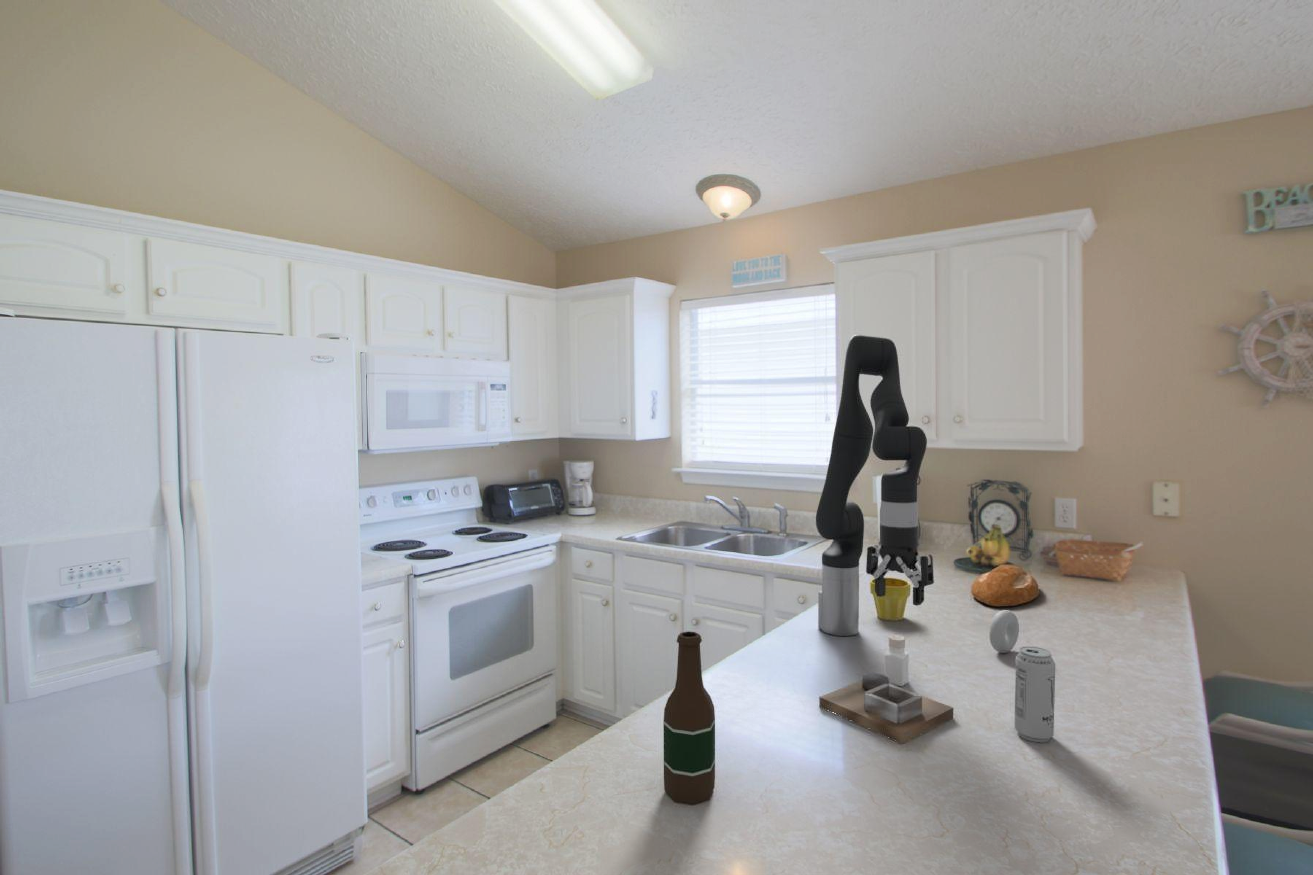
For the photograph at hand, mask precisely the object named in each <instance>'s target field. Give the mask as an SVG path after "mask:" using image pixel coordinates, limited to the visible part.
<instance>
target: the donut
mask: <svg viewBox="0 0 1313 875" xmlns="http://www.w3.org/2000/svg"><path fill="white" fill-rule="evenodd" d="M990 622H991V623H990V626H989V642H990V645H991V647H992V648H993V649H994V651H996V652H998V653H1000V654H1006V653H1009V652H1010V651H1012V650H1013V648H1014V647H1015V645H1016V643H1017V642H1018V638H1019V635H1020V634H1019V633H1020V624H1019V619H1018V617H1017V616H1016V614H1015V613H1014V612H1013V611H1011V610H1008V609H1007V610H1006V609H1003V610H1000V611H998V612H997V613H995V615H994V616H993V619H992V620H991V621H990Z"/></svg>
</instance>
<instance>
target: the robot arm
mask: <svg viewBox="0 0 1313 875" xmlns="http://www.w3.org/2000/svg"><path fill="white" fill-rule="evenodd" d="M897 350H898V349H897V348H896V344H895V342H894V341H893V340H892V339H890V338H887V337H886V338H885V337H880V336H871V335H862V334H854V335H853V336H852V337H851V338H850V339H849V341H848V343H847V348H846V351H845V360H844V368H843V375H842V376H843V377H842V386H841V388H842V389H841V393H840V394H841V395H840V401H839V407H838V413H837V418H836V422H835V426H834V432H833V437H832V442H831V448H830V456H829V461H828V466H827V471H826V476H825V481H824V485H823V488H822V490H821V491H822V492H821V495H820V499H819V501H818V506H817V510H816V514H815V526H816V530H817V532H818V533H819V535H820V536H821V537H822V538H823V539H825V540H829V541H830V540H831V541H832V542H831V543H830V545H829V547H828V548H827V549H825V550H824V551H823V552H822V553H821V590H819V592H818V599H817V600H818V603H817V604H818V609H817V610H818V611H817V612H818V613H817V615H818V616H817V618H818V621H817V624H818V627H817V628H818V629H821V631H823V632H824V633H826V634H829V635H832V636H838V637H839V636H840V637H850V636H856V635H858V633H859V629H860V628H859V623H860V622H859V620H860V619H859V618H860V613H859V612H860V610H859V609H860V608H859V607H860V560H861V557H862V555H863V550H864V549H863V548H864V537H865V535H864V534H865V520H864V514H863V511H862V509H861V507H860V506H859V505H858V504H857V503H855V502H854V501H850V500H848V496H849V492H850V490H851V487H852V485H853V483H854V482H855V480H856V478H857V476H859V475H860V473H861V471H862V469H863V468H864V466H865V465H866V463H867V460H868V458H869V457H870V452H871V449H872V452H873V453H874V455H875V456H876V457H877V458H878V459H879V460H882V461H905V463H904V465H903V466H902V467H901V468H900V469H898V470H893V471H889V472H885V473H883V474H882V475H881V479H880V487H881V488H880V508H879V544H880V547H879V545H876V544H875V545H871V546H868V547H867V549H866V550H867V551H866V568H865V570H866V571H865V572H866V574H867V575H870V576H872V577H873V579H874V578H875V592H876V593H877V596H879V597H882V596H885V594H886V578H884V577H886V575H887V573H888V572H897V573H898V574H899V573H901V574H904V575H905V576H906V577H907V579H909V580H910V582H911V584H912V585H913V587H912V604H913V606H920V605H922V604H923V603H924V601H925V588H926V587H927V586H930V585H933V584H934V583H935V580H934V563H933V562H934V561H933V560H934V558H933V556H932V554H925V555H922V554H919V552H918V547H919V508H918V507H919V506H918V479H919V474H920V471H921V466H922V463H923V460H924V458H925V454H926V449H927V445H928V439H927V435H926V433H925V431H924V430H923V429H922V428H921V427H918V426H914V425H911V426H910V425H908V424H909V421H910V417H909V412H908V410H907V409H908V408H907V406H906V403H905V400H904V397H903V393H902V388H901V387H902V386H901V377H900V367H899V358H898V351H897ZM860 375H868V376H874V377H875V376H876V377H881V378H882V379H881V381H880V382H878V384H877V385H876V386H875V388H874V389H873V391H872V393H871V396H870V400H869V402H870V409H871V413H872V416H873V420H874V426H873V423H872V420H871V418H870V415H869V413H868V411H867V409H866V407H865V404H864V402H863V399H862V396H861V392H860ZM879 557H880V558H881V559H882V561H881V562H880V564H879ZM917 563H918V565H919V566H920V568H919V567H918V565H917Z"/></svg>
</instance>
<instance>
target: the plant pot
mask: <svg viewBox="0 0 1313 875" xmlns="http://www.w3.org/2000/svg"><path fill="white" fill-rule="evenodd" d="M884 578H886V594H885V596H882V597H879V596H877V593H876V592H875V578H874V577H873V578H872V579H871V580H870V582H869V583H870V584H869V586H870V587H869V588H870V594H871V595H872V596H873V601H874V605H875V611H876V615H877V617H878V618H879V619H882V620H884V621H885V620H886V621H900V620H903V618H904V616H905V610H906V606H907V602H908V598H909V597H910V596H911V583H910V582H909V581H908V580H905V579H903V578H897V577H891V576H890V577H886V576H884Z"/></svg>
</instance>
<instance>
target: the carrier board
mask: <svg viewBox="0 0 1313 875" xmlns="http://www.w3.org/2000/svg"><path fill="white" fill-rule="evenodd" d="M861 677H862V679H861V680H859V681H857V682H854V683H852V684H849V685H846V686H844V687H842V688H839V689H836V690H833V691H830V692H827V693H826V694H823V695H821V696H820V695H819V706H818V708H820V707H822V708H821V709H823V708H824V709H823V710H825V709H826V710H825V711H827V710H829V711H831V712H834V713H836V714H837V715H836V714H835V715H836V716H838V715H840V716H842V717H841V718H843V717H844V718H843V719H845V718H847V719H848V720H847V719H846V720H847V721H849V720H852V721H853V722H852V721H851V722H852V723H854V722H855V723H854V724H856V723H858V724H860V725H859V726H860V727H863V726H865V727H866V728H865V727H864V728H865V729H867V728H870V729H871V730H870V731H872V730H873V731H872V732H874V731H876V732H878V733H880V734H879V735H881V734H882V735H881V736H883V735H884V736H883V737H885V736H886V737H885V738H887V737H889V738H888V739H890V740H892V739H894V740H896V741H897V742H896V741H895V742H896V743H898V742H900V743H899V744H900V745H904V744H906V743H908V742H910V741H911V739H912V740H913V738H914V739H916V738H917V737H919V735H920V734H922V735H924V734H925V732H926V731H927V732H929V731H931V730H933V729H935V728H937V727H939V726H941V725H943V724H945V723H947V722H949V721H951V720H953V719H954V707H952V706H950V705H947V704H945V703H942V702H939V701H937V700H934V699H931V698H928V697H926V696H924V695H921V694H918V693H917V692H916V693H915V692H913V691H910V690H908V689H906V688H903V687H901V686H898V685H894V684H890V683H889V678H888V677H886V676H885V674H882V673H875V672H868V673H864V674H863V675H862V676H861ZM829 711H828V712H829ZM831 712H830V713H831ZM834 713H833V714H834ZM840 716H839V717H840ZM948 720H949V721H948ZM946 721H947V722H946ZM942 723H943V724H942ZM858 724H857V725H858ZM940 724H941V725H940ZM936 726H937V727H936ZM932 728H933V729H932ZM930 729H931V730H930ZM876 732H875V733H876ZM927 732H926V733H927ZM878 733H877V734H878ZM923 733H924V734H923ZM920 736H921V735H920ZM915 737H916V738H915ZM894 740H893V741H894ZM909 740H910V741H909ZM907 741H908V742H907ZM905 742H906V743H905ZM903 743H904V744H903Z"/></svg>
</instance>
